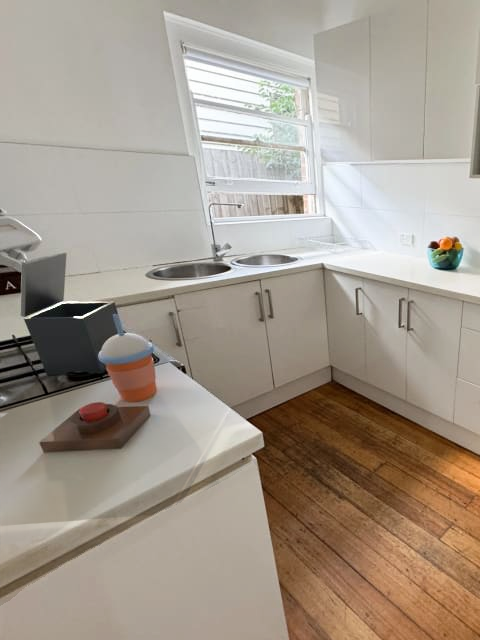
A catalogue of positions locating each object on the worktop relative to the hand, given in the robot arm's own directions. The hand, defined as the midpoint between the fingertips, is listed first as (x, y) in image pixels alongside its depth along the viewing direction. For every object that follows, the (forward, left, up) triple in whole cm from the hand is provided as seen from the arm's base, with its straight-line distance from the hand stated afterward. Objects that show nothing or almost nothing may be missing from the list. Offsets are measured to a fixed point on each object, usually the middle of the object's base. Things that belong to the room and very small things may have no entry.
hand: (28, 268), depth 83 cm
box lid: (+2, 0, -3) cm, 4 cm away
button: (+25, -29, -20) cm, 43 cm away
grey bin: (+6, 0, -23) cm, 24 cm away
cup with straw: (+25, -16, -23) cm, 38 cm away
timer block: (+25, -29, -23) cm, 45 cm away
